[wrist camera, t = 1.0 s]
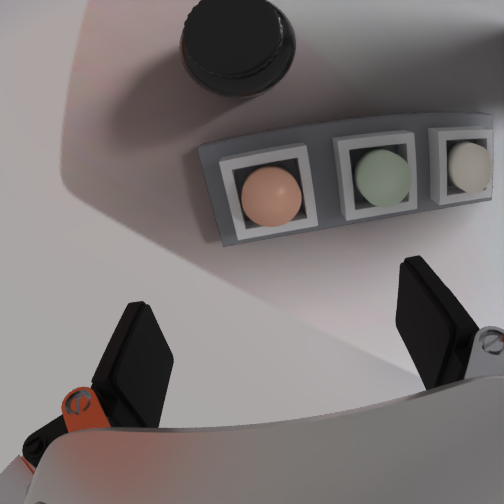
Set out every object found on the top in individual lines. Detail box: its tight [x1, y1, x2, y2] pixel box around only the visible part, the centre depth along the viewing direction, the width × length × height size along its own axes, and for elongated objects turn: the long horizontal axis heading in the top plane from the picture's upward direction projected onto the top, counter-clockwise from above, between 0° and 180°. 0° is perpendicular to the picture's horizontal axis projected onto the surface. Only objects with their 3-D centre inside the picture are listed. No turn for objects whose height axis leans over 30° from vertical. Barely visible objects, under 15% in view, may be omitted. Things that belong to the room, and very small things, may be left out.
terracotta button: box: [242, 165, 301, 227], centre depth 24 cm, size 4×4×2 cm
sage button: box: [354, 148, 412, 208], centre depth 23 cm, size 4×4×2 cm
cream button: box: [447, 141, 493, 194], centre depth 22 cm, size 4×4×2 cm
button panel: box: [197, 112, 493, 247], centre depth 25 cm, size 28×9×4 cm, turn 102°
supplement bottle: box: [180, 0, 296, 98], centre depth 17 cm, size 7×7×12 cm
